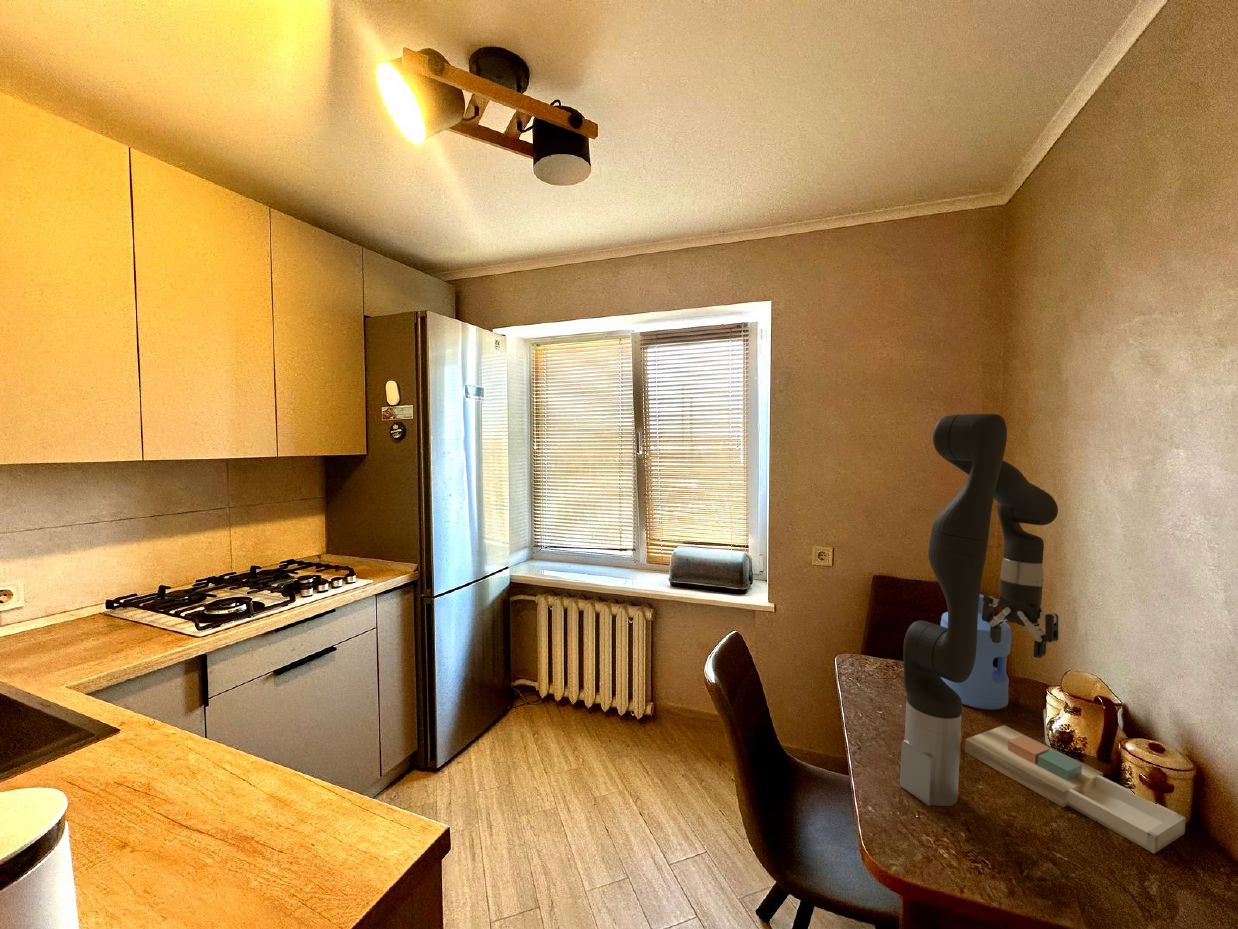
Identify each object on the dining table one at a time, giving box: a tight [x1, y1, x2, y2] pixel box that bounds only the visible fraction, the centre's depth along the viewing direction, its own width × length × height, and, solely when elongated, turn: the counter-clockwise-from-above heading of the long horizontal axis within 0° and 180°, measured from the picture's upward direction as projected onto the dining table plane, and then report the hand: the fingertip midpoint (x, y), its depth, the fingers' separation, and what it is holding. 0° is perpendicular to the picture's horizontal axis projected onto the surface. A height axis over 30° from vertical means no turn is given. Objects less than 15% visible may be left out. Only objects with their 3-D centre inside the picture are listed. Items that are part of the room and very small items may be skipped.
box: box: [1067, 775, 1187, 854], centre depth 92 cm, size 11×12×3 cm
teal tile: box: [1038, 750, 1082, 781], centre depth 101 cm, size 5×5×2 cm
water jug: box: [940, 593, 1013, 711], centre depth 135 cm, size 16×16×28 cm
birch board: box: [964, 724, 1104, 808], centre depth 105 cm, size 14×18×3 cm
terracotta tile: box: [1008, 736, 1049, 764], centre depth 106 cm, size 5×5×2 cm
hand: (1016, 649), depth 114 cm, fingers open, 8 cm apart
